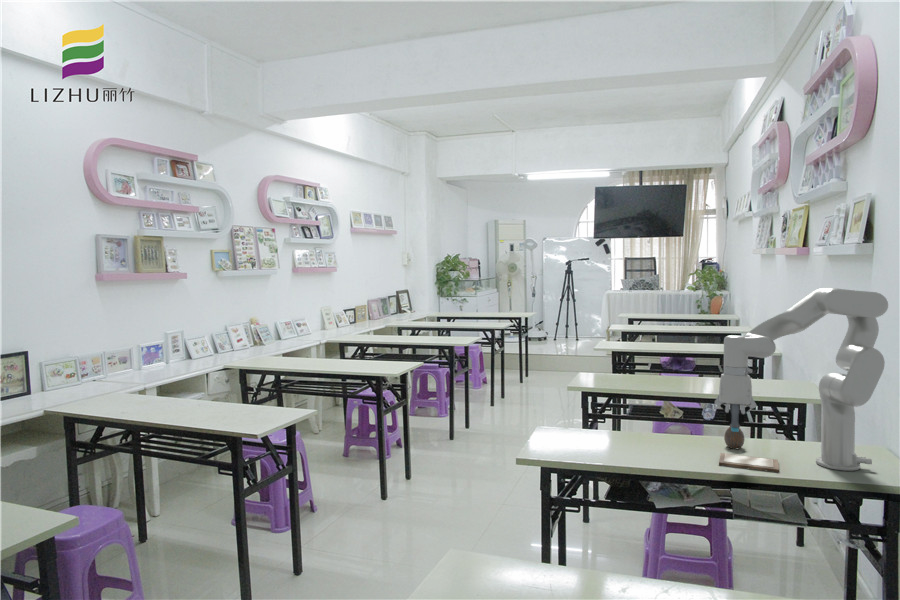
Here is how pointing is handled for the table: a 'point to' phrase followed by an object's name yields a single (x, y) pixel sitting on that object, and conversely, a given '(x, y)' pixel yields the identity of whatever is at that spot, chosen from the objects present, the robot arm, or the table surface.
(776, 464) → the brown picture frame
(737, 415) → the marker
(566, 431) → the table surface
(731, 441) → the vase
